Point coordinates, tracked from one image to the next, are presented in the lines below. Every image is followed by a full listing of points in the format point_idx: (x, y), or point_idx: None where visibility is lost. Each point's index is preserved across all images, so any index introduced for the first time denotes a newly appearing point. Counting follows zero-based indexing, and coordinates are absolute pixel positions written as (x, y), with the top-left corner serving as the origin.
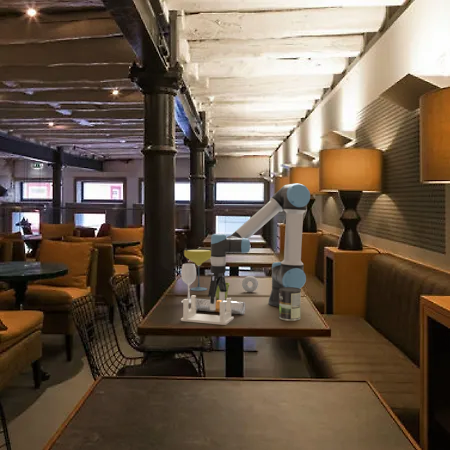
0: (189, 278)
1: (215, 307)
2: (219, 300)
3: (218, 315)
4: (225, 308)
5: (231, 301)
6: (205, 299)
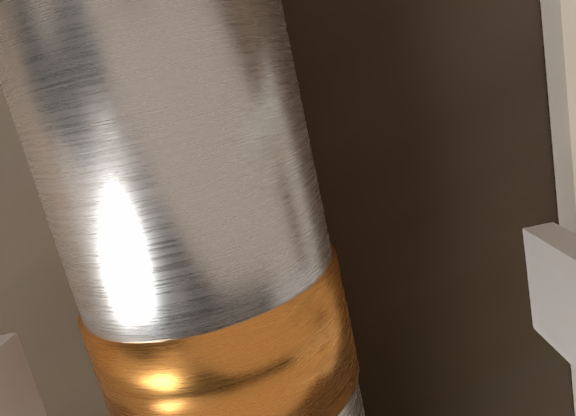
0: None
1: (556, 243)
2: (223, 383)
3: (568, 106)
4: (305, 127)
5: (123, 46)
6: None
